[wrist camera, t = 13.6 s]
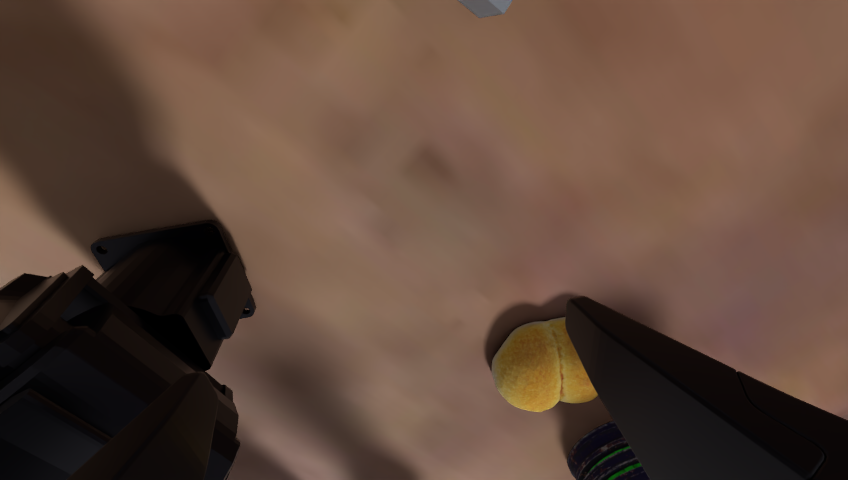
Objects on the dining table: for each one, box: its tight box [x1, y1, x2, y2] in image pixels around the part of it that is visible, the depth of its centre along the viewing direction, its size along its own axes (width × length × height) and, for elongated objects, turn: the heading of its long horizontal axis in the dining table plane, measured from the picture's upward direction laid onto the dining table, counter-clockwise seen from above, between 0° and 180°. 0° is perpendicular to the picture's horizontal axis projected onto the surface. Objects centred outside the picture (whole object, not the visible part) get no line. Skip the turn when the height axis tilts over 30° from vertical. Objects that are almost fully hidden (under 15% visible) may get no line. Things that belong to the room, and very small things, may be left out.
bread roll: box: [492, 317, 598, 412], centre depth 28 cm, size 8×9×4 cm
